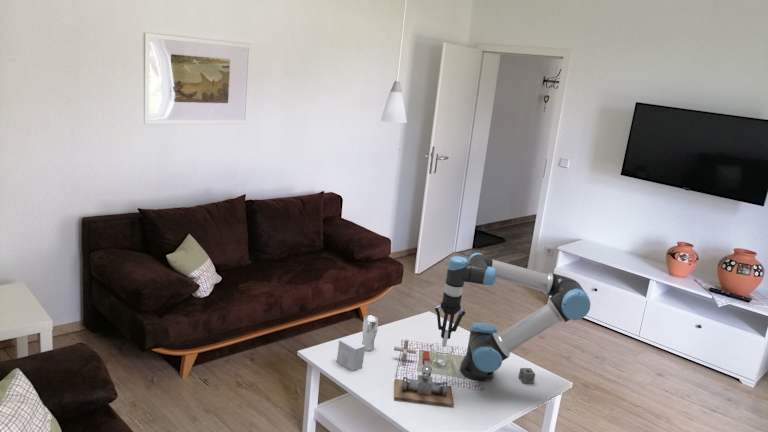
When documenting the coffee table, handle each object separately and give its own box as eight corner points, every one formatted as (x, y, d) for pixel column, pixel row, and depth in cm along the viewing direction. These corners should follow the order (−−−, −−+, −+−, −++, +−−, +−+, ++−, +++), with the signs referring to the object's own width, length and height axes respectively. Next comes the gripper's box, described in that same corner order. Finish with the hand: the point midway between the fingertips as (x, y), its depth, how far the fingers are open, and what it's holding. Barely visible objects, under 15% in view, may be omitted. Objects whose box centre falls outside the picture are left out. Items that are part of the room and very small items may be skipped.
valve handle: (429, 357, 265) (430, 351, 264) (430, 377, 249) (432, 370, 249) (420, 356, 265) (421, 350, 264) (422, 376, 249) (423, 369, 249)
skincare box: (363, 367, 269) (365, 345, 266) (352, 371, 264) (355, 349, 261) (346, 357, 276) (349, 336, 273) (336, 361, 271) (338, 339, 268)
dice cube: (522, 383, 272) (524, 373, 271) (518, 377, 277) (520, 368, 276) (533, 384, 273) (535, 374, 272) (528, 378, 278) (530, 368, 277)
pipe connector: (415, 356, 284) (418, 336, 281) (413, 367, 275) (417, 346, 272) (393, 352, 285) (396, 333, 282) (391, 363, 275) (394, 343, 273)
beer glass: (360, 343, 290) (364, 314, 286) (375, 345, 290) (379, 316, 286) (359, 350, 283) (363, 320, 279) (374, 352, 283) (378, 322, 279)
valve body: (444, 391, 256) (447, 374, 254) (445, 398, 251) (448, 381, 249) (401, 386, 256) (404, 368, 254) (401, 393, 251) (404, 375, 249)
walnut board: (450, 388, 260) (451, 385, 260) (453, 407, 247) (453, 404, 247) (394, 381, 260) (394, 378, 260) (394, 400, 247) (394, 396, 246)
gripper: (467, 292, 257) (458, 342, 263) (436, 287, 257) (428, 338, 263) (469, 299, 250) (460, 351, 256) (437, 294, 250) (429, 347, 256)
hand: (444, 344), depth 260 cm, fingers closed
